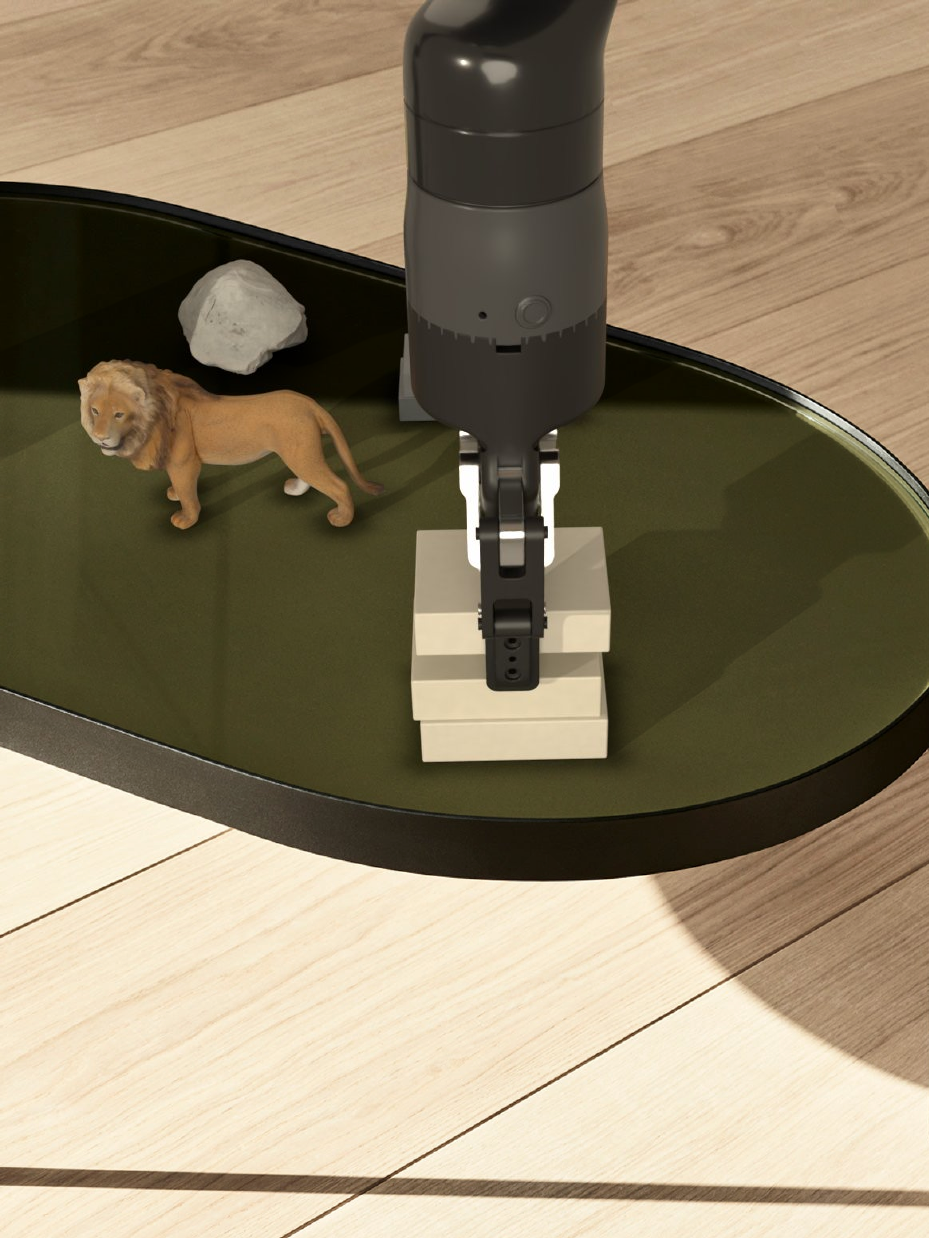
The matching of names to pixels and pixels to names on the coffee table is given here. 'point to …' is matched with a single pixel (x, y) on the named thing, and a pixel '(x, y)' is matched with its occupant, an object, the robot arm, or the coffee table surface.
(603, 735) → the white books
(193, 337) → the grey stone
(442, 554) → the cream flat block
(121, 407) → the lion figurine
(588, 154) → the robot arm
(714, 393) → the coffee table surface
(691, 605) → the coffee table surface
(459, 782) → the coffee table surface
